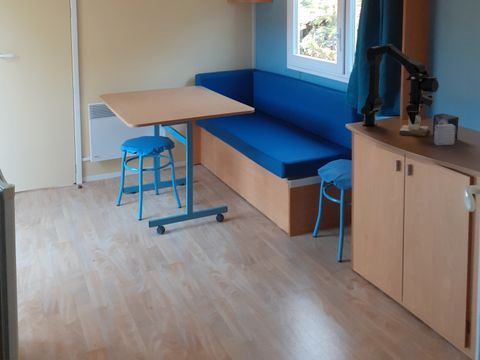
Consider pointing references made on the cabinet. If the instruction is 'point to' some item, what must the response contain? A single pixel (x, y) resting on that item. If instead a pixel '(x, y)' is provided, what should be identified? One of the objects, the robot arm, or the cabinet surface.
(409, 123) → the maple cube
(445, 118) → the small box
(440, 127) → the medicine box
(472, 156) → the cabinet surface
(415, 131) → the beige flat square slab
